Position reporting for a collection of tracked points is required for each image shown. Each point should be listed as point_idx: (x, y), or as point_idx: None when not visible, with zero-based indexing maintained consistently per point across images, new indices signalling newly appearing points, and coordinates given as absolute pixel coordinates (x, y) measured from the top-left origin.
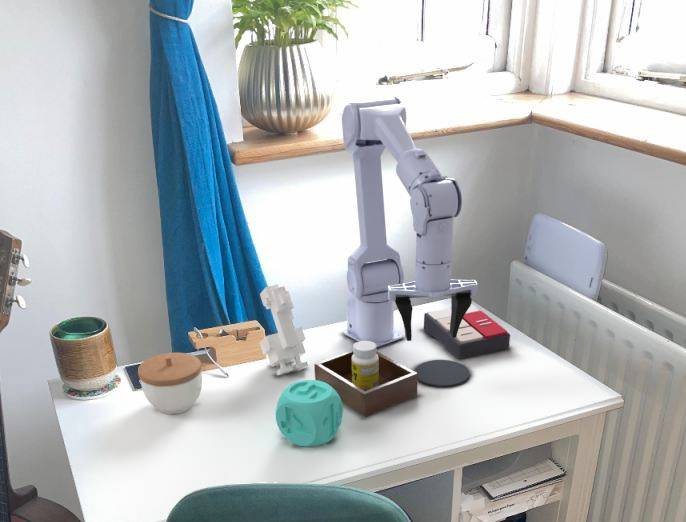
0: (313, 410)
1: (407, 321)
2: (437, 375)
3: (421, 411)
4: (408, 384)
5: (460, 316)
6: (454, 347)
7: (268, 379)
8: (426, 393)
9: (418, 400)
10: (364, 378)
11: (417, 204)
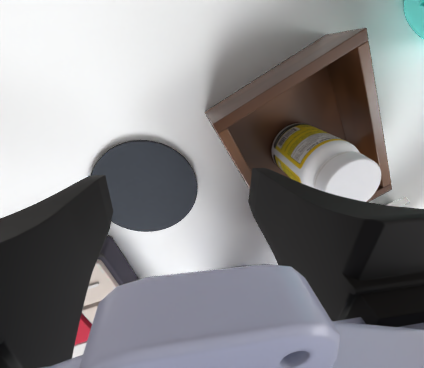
0: None
1: (313, 192)
2: (155, 179)
3: (207, 38)
4: (233, 104)
5: (24, 215)
6: (115, 257)
7: (409, 193)
8: (184, 119)
9: (205, 92)
10: (322, 131)
11: None
